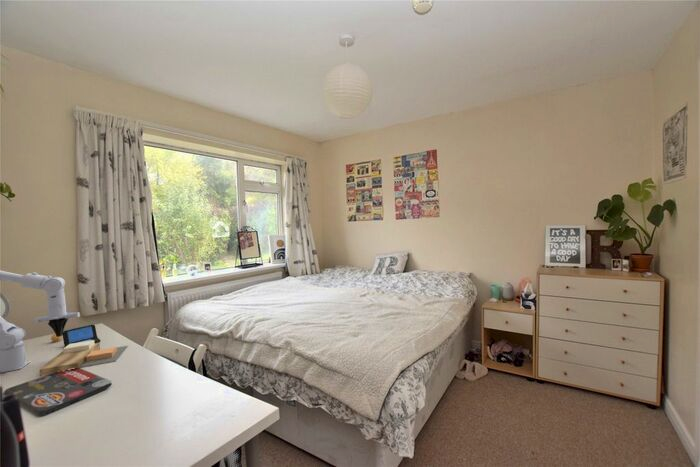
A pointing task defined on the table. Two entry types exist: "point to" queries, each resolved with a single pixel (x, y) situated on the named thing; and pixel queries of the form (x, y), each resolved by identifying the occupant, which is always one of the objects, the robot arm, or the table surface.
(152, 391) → the table surface
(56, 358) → the deck
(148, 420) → the table surface
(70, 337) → the handheld game console
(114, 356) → the mat
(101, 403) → the table surface
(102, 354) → the orange rectangular block
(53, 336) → the figurine
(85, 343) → the cream rectangular block
